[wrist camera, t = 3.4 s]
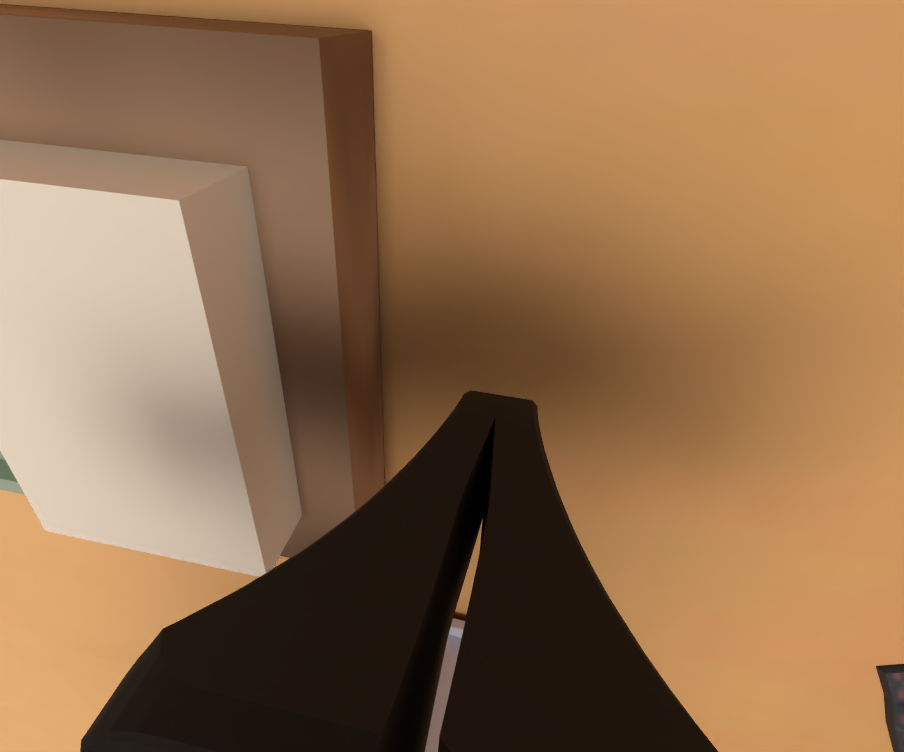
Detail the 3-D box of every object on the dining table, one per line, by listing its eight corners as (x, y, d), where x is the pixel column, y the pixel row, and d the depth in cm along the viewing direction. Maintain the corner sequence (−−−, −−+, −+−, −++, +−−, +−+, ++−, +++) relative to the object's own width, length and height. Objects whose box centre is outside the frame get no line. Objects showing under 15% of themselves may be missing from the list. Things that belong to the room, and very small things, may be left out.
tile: (302, 515, 15) (267, 578, 13) (101, 475, 16) (45, 530, 14) (247, 166, 10) (178, 200, 8) (-48, 133, 10) (-165, 159, 9)
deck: (385, 506, 18) (359, 572, 16) (106, 453, 19) (49, 507, 17) (371, 30, 10) (318, 37, 8) (-84, -2, 12) (-226, -2, 10)
